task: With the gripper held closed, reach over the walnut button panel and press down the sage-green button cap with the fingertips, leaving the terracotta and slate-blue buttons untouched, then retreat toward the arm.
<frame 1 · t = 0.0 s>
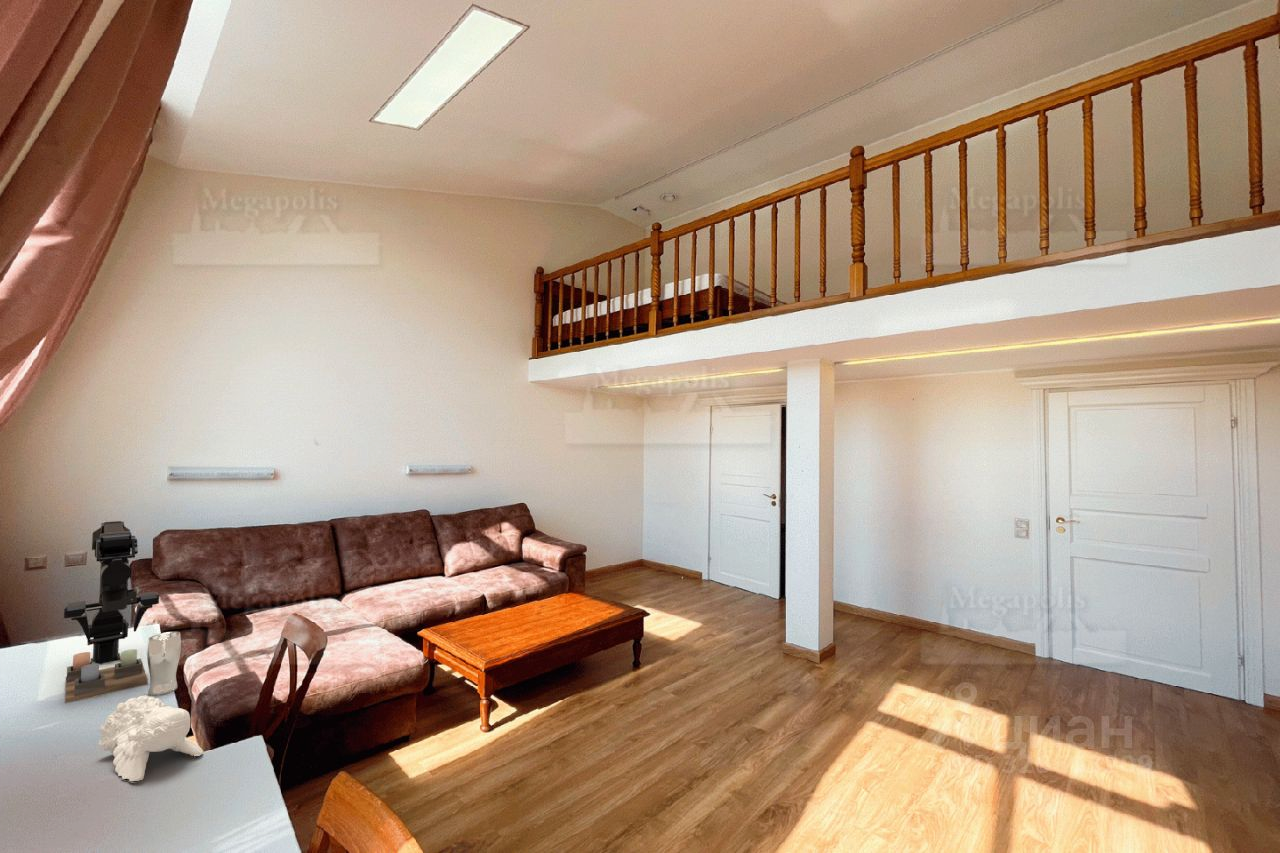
hand: (112, 635, 150), 15 cm above the table, fingers open, 9 cm apart
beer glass: (162, 691, 149), on the table
slate button: (90, 674, 147), point 5 cm above the table, slide at 0.0 cm
sage button: (128, 659, 157), point 5 cm above the table, slide at 0.0 cm
button panel: (106, 682, 154), on the table
white curly sculpture: (153, 759, 117), on the table
terracotta button: (81, 662, 155), point 5 cm above the table, slide at 0.0 cm
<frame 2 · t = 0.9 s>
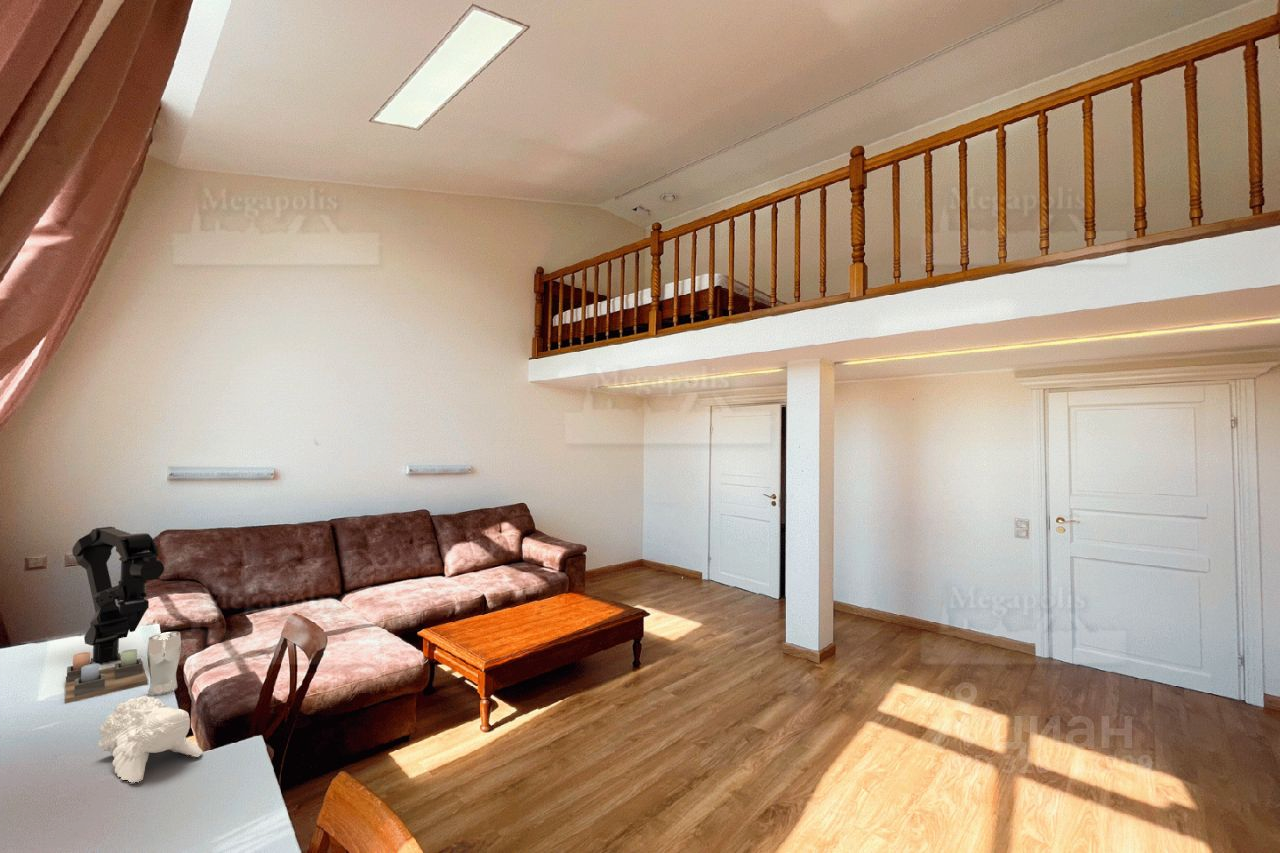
hand: (131, 628, 164), 12 cm above the table, fingers open, 8 cm apart
nothing on the table moved.
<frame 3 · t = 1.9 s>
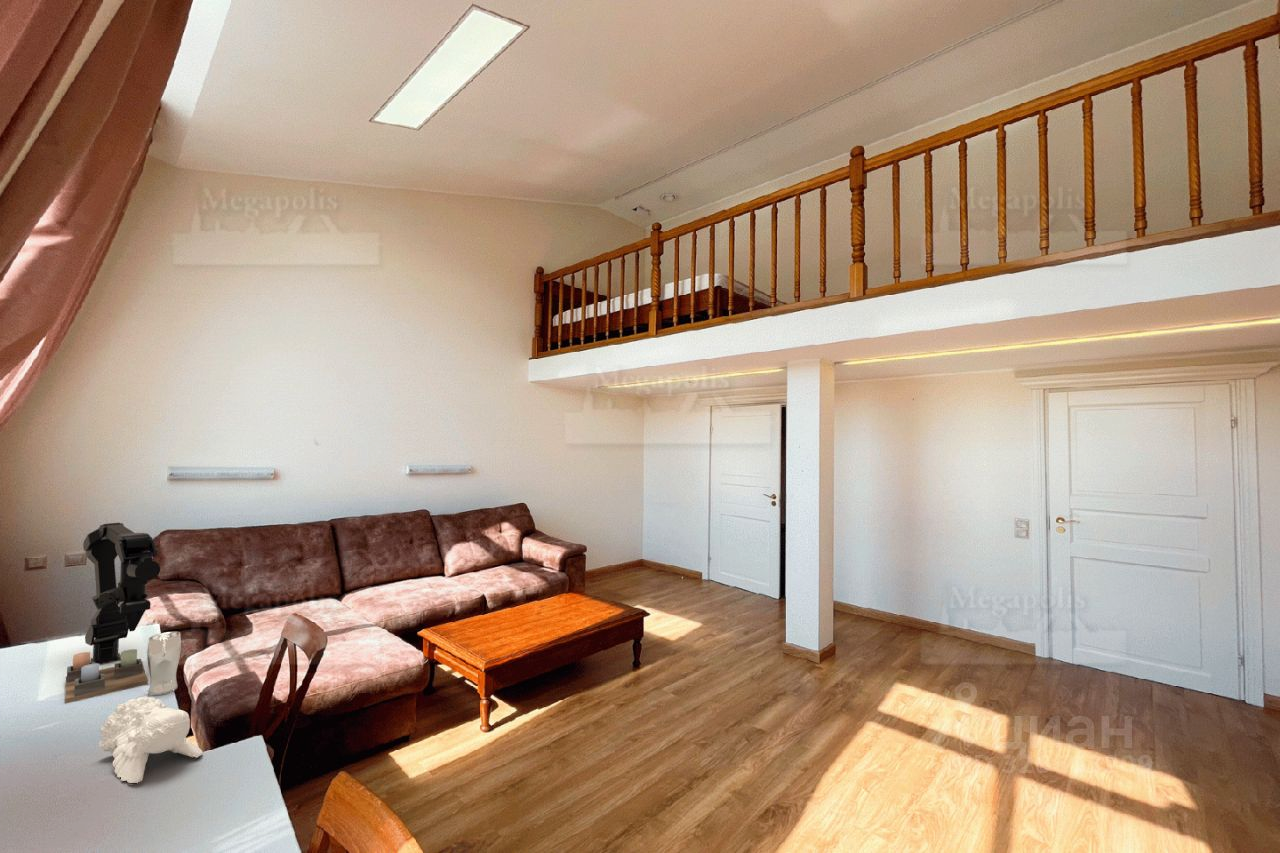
hand: (132, 630, 160), 13 cm above the table, fingers closed
nothing on the table moved.
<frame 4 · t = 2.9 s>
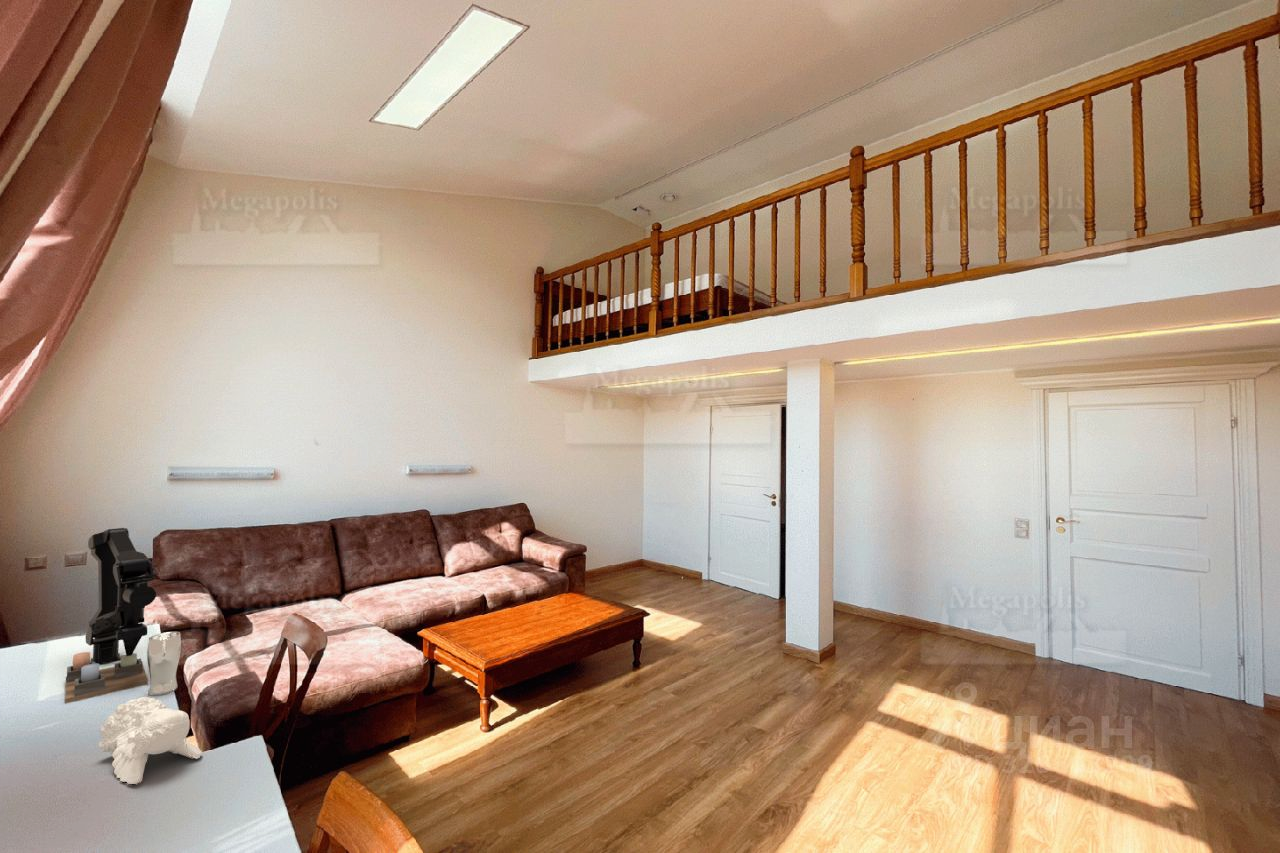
hand: (129, 655, 157), 6 cm above the table, fingers closed, pressing on sage button
sage button: (128, 663, 157), point 4 cm above the table, slide at 1.1 cm, touching gripper
everything else where it was.
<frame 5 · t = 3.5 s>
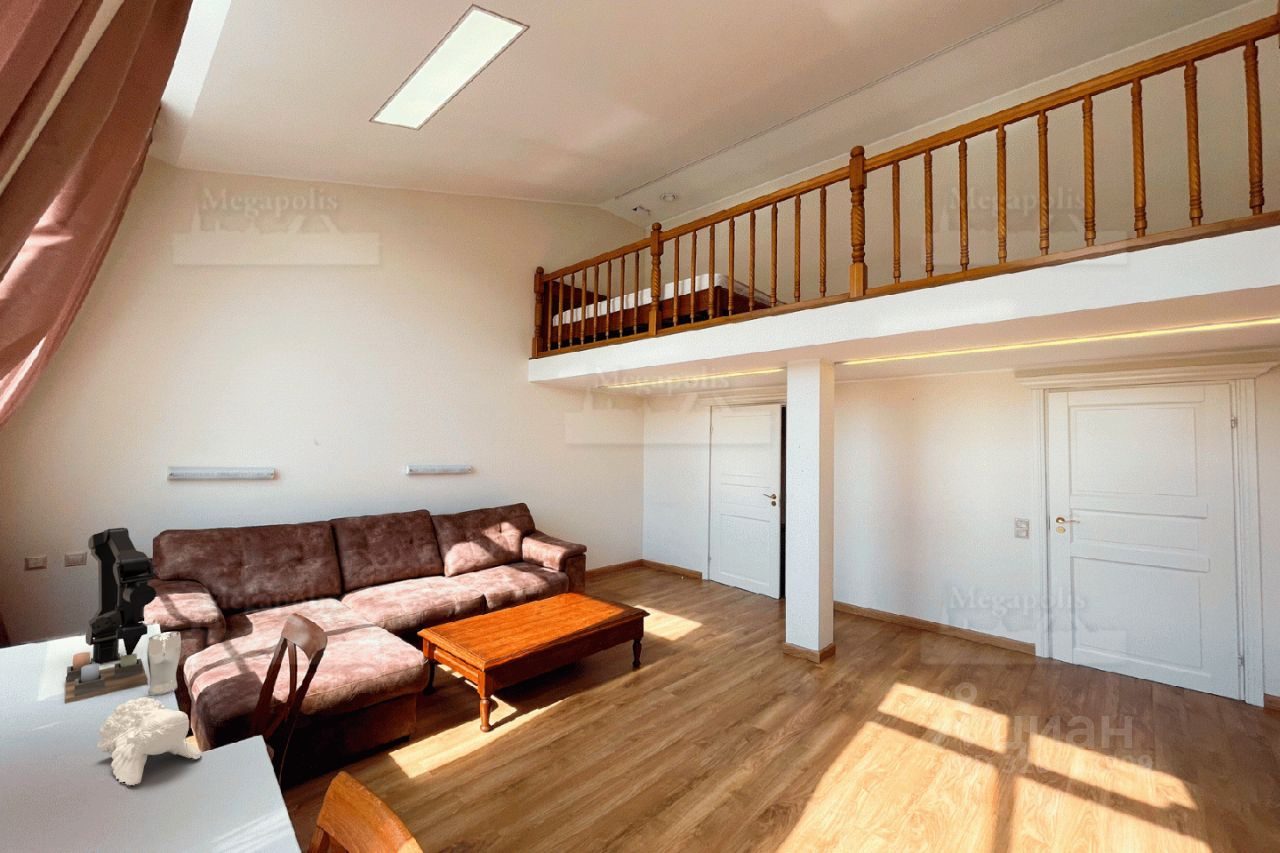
hand: (129, 654, 157), 7 cm above the table, fingers closed
sage button: (128, 663, 157), point 4 cm above the table, slide at 1.2 cm
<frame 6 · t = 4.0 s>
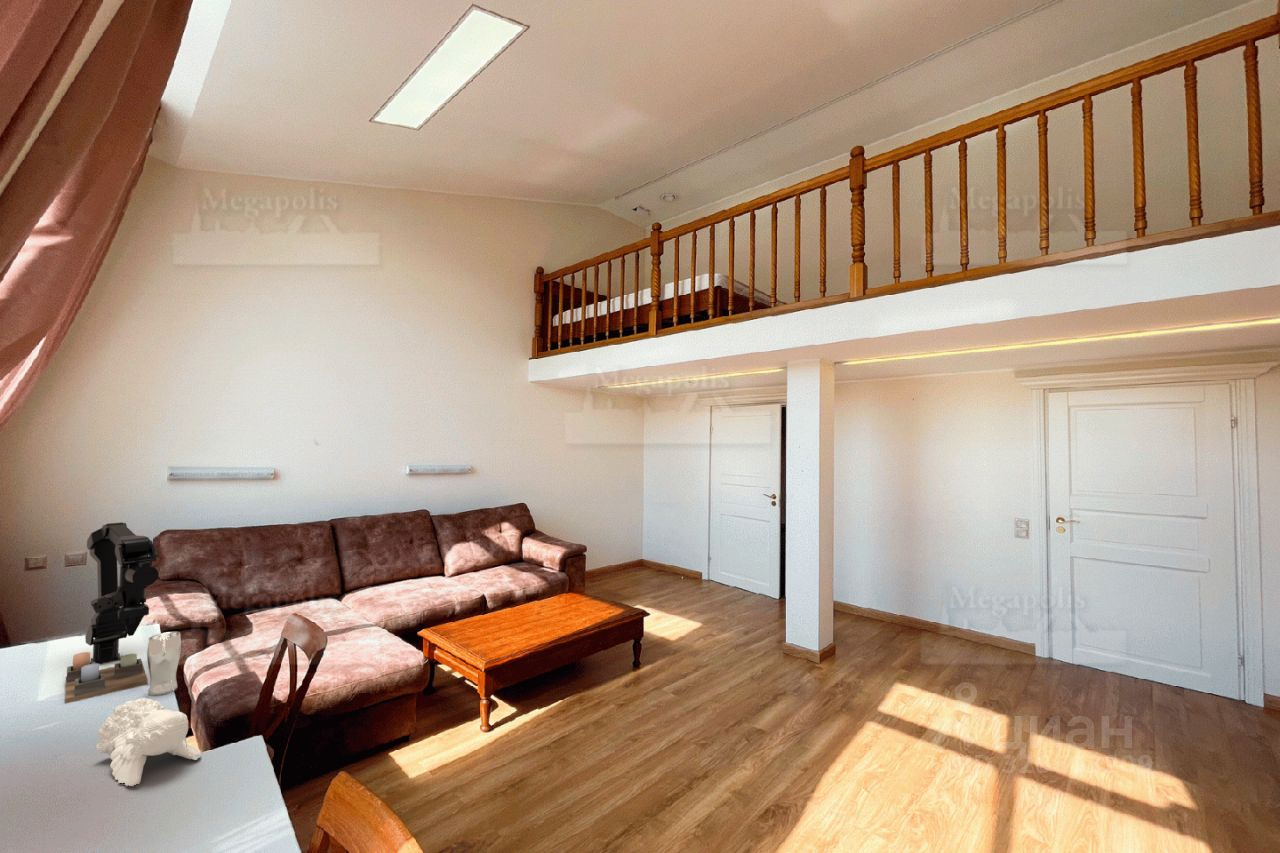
hand: (130, 635, 158), 12 cm above the table, fingers closed
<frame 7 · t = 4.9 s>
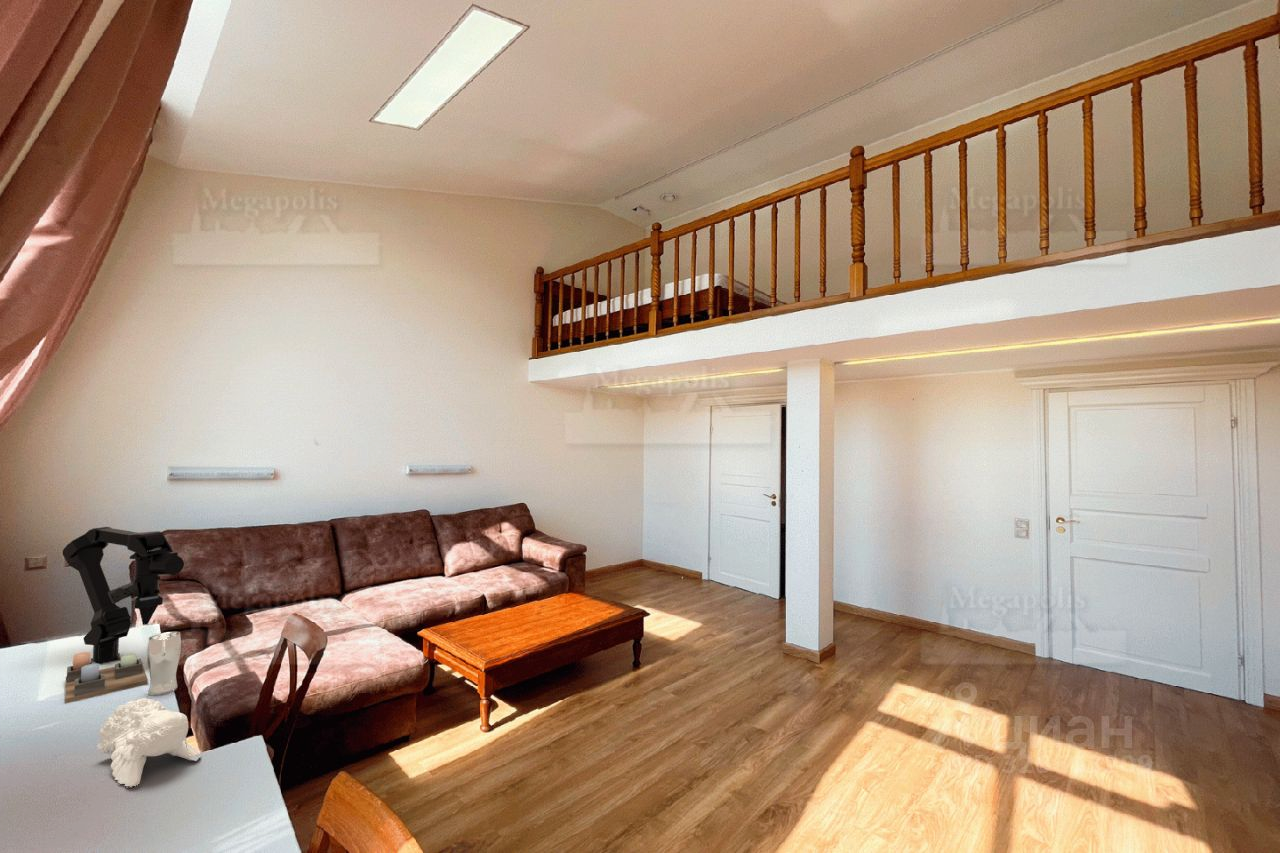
hand: (145, 624, 167), 12 cm above the table, fingers closed
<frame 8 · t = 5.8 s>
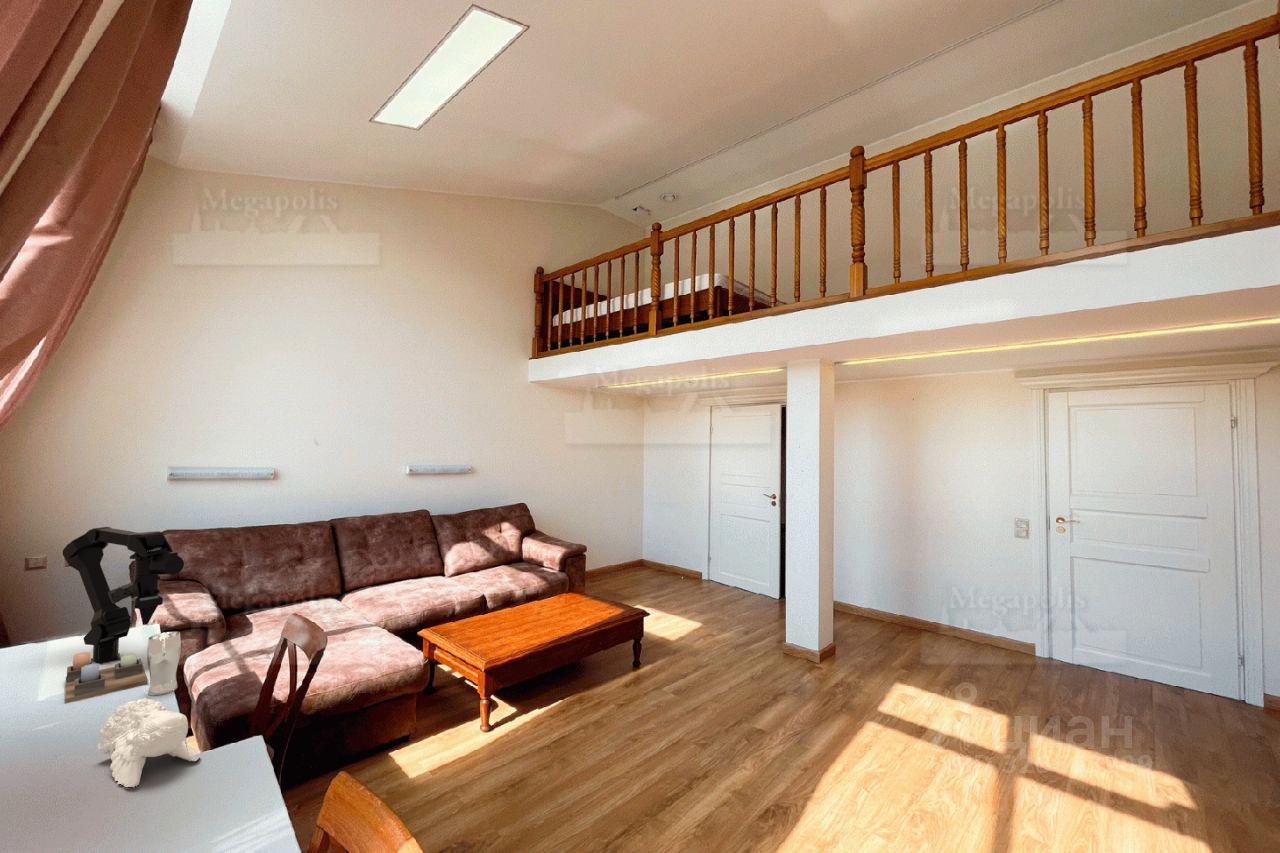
hand: (145, 624, 167), 12 cm above the table, fingers closed
at the end: sage button slide at 1.2 cm; terracotta button slide at 0.0 cm; slate button slide at 0.0 cm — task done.
